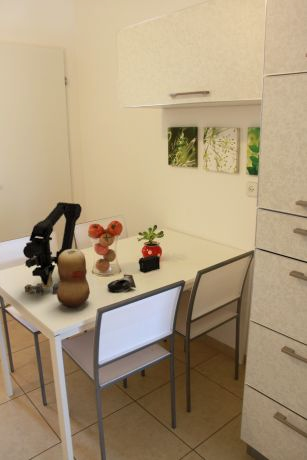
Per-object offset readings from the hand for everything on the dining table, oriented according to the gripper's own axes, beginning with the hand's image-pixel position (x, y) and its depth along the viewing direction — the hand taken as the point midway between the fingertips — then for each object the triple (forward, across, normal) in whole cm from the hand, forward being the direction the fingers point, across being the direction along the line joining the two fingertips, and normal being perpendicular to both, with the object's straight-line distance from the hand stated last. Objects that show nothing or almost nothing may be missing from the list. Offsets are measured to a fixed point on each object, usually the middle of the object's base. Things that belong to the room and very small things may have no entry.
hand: (47, 283), depth 181 cm
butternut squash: (+5, +14, +16) cm, 22 cm away
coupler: (+1, 0, 0) cm, 1 cm away
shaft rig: (+4, 0, 0) cm, 5 cm away
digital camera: (+5, -30, +46) cm, 55 cm away
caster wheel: (+5, -3, +34) cm, 34 cm away
